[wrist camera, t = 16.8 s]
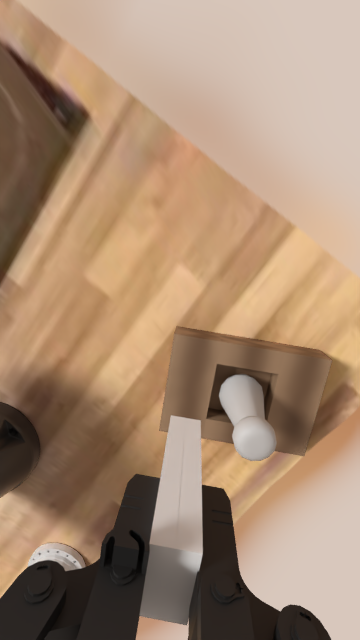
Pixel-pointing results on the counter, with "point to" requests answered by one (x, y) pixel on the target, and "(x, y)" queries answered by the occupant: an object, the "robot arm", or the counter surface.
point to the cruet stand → (255, 361)
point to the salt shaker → (247, 417)
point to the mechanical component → (58, 556)
